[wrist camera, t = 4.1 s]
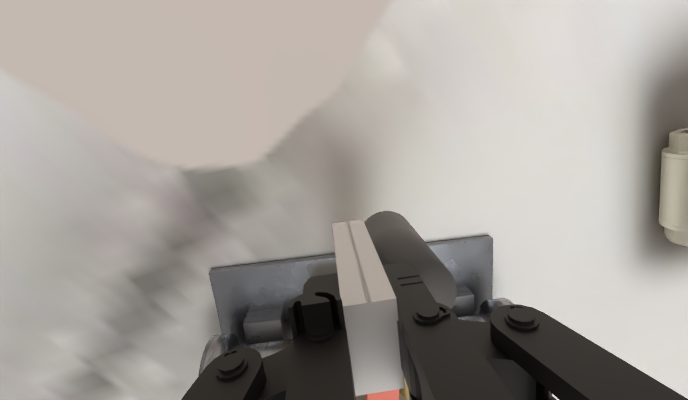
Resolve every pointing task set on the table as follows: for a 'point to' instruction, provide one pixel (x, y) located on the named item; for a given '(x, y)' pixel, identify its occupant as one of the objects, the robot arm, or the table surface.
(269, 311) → the valve assembly
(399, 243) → the lever
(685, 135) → the ball valve
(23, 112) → the table surface
